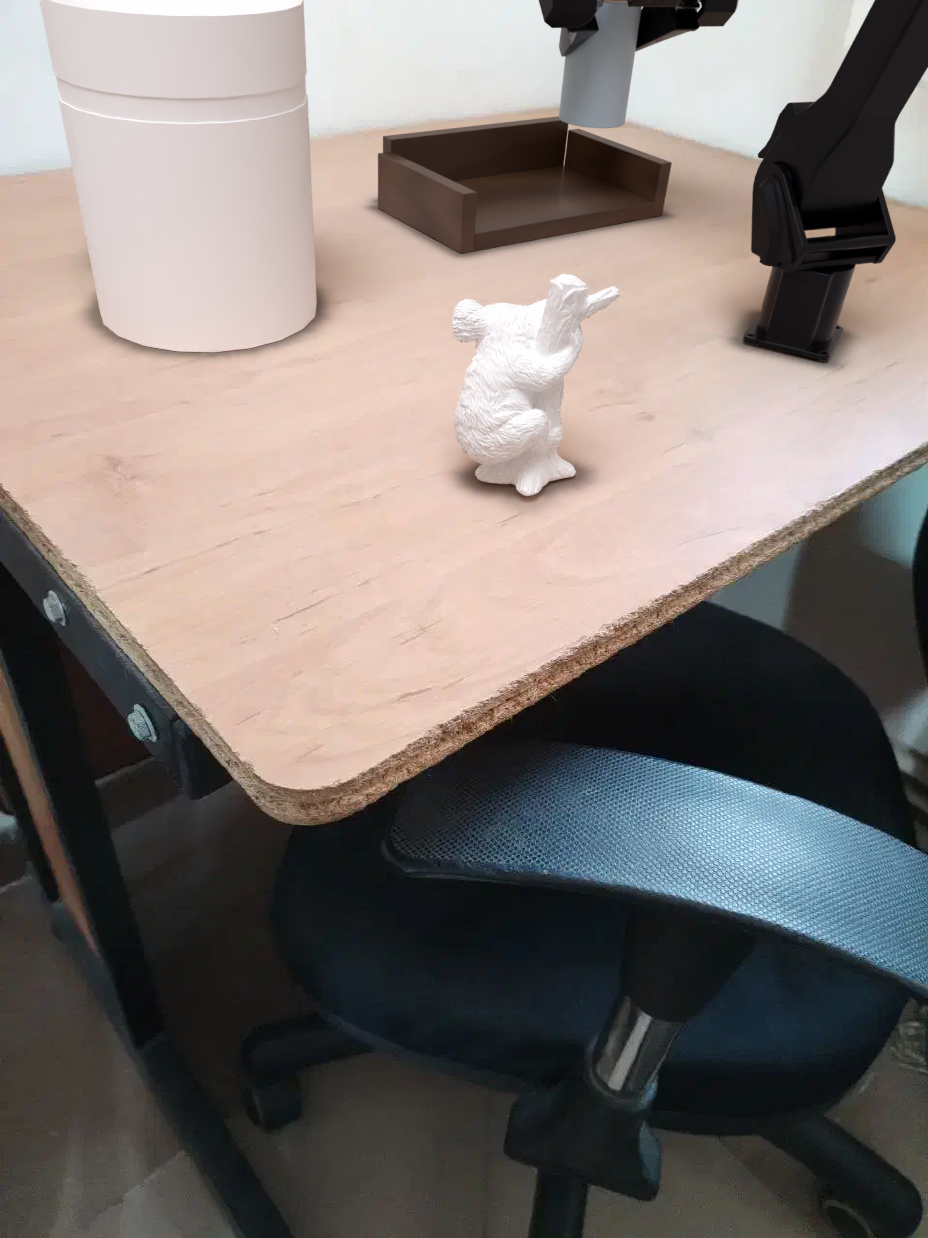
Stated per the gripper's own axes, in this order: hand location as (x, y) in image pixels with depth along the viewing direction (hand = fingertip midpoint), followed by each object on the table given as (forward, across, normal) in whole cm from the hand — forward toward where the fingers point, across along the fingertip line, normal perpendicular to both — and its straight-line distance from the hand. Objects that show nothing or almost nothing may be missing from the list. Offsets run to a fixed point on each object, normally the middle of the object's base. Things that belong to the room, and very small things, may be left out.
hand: (593, 50), depth 90 cm
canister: (-2, +41, +22) cm, 47 cm away
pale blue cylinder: (+3, 0, +5) cm, 6 cm away
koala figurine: (-23, +30, +43) cm, 57 cm away
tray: (+8, +7, +11) cm, 15 cm away
